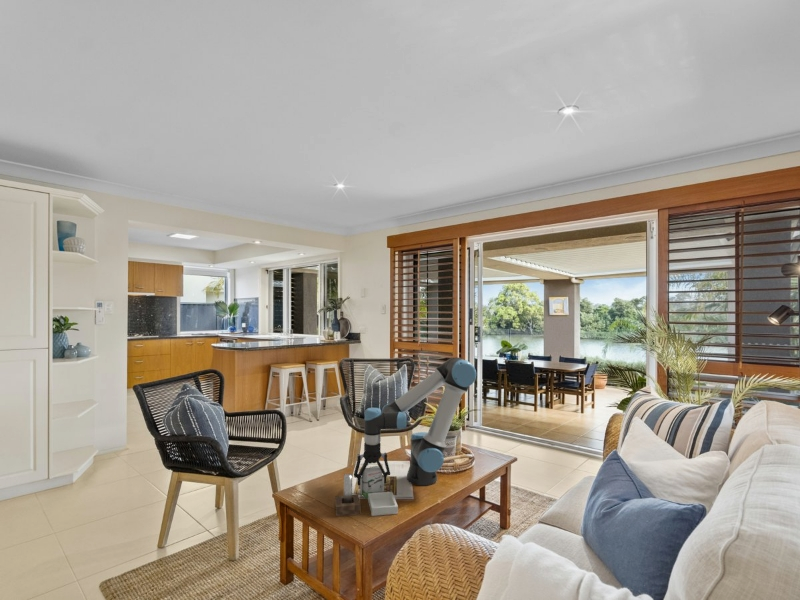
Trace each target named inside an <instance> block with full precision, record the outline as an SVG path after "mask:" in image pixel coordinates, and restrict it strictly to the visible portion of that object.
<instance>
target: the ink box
mask: <svg viewBox="0 0 800 600" xmlns="http://www.w3.org/2000/svg"><path fill="white" fill-rule="evenodd" d="M382 475H383V473H382V471H381V470H380V468H379V466H378V465H375V466H370V467H369V466H368V467H366V468H365V470H364V472H363V474H362V476H361V477H362V493H361V496H362V495H363V498H365V499H368V494H369V493H382Z"/></svg>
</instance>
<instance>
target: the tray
mask: <svg viewBox="0 0 800 600" xmlns="http://www.w3.org/2000/svg"><path fill="white" fill-rule="evenodd" d="M367 504H368V507H369V510H370V513H371V517H373V516H383V515H384V516H387V515H398V514H399V505H398V503H397V500H396V498H395V495H394V493H393V491H384V492H382V493H369V494H368V498H367Z"/></svg>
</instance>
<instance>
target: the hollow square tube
mask: <svg viewBox="0 0 800 600" xmlns="http://www.w3.org/2000/svg"><path fill="white" fill-rule="evenodd" d="M334 501H335V505H334V506H335V516H336V517H345V516H346V517H347V516H358V515H359V516H360V515H361V511H362V510H361V506H362V505H361V500H360V497H359V494H356V493H355V494H352V503H344V494H343V495H335V499H334Z"/></svg>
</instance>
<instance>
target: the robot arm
mask: <svg viewBox="0 0 800 600" xmlns="http://www.w3.org/2000/svg"><path fill="white" fill-rule="evenodd" d="M476 379H477V370H476V368H475V366H474V365H473V364H472V363H471V361H468V360H465V359H463V358H461V357H457V356H456V357H450V358H449V359H447V360H446V361H444V362H443V363H441V364H440V365H438V367H435V369H434V372H433V373H431V374H429V376H427V377H426V378H424V379H423V380H421V381H420V382H419V383H418V384H416V385H415V386H414V387H412V388H410V389H409V390H408V391H406V392H405V393H404V394H402V395H401V396H399V397H398V398H397V399H395V400H394V401H392V402H391V403H387V404H385V405H384V406H383V407H382V408H379V407H368V408H366V409H365V410H364V419H363V420H364V430H363V431H364V437H363V438H364V444H363V445H364V447H363V449H364V450H363V454H359V453H358V454H357V455H356V457H357V460H356V463H355V468H354V471H353V478H357V485H358V486H359V493H360V494H362V474H363V472H364V470H365V468H368V467H367V466H369V464H377V466H378V467H379V468H380V470H381V471H382V492H385V484H387V477H388V476H391V472H390V467H389V463H388V454H387V452H381V446H382V445H381V440H382V439H381V437H382V436H381V435H382V434H381V433H382V432H381V431H382V430H401V429H406V427H407V423H408V422H407V421H408V419H407V418H408V417H407V413H406V412H408V411H409V410H410V409H412V408H413V407H415V406H416V405H418V403H420V402H422V401H423V400H424V399H426V398H427V397H428V396H430V395H431V394H432V393H434V392H435V391H436V390H438V389H439V388H441V387H442V386H445V388H444V390H443V393H442V395H441V399H440V401H439V403H438V406H437V409H436V411H435V414H434V416H433V420H432V421H431V424H430V427H429V428H428V432H425V431H424V432H414V433H412V434H411V435H410V465H409V467H408V471H407V474H406V480H407V481H409V482H408V483H410V482H411V483H410V484H413V485H416V486H430V485H434V484H436V483H437V482H438V474H437V471H439V470H440V469H441V468H442V467H443V465H444V462H445V456H444V452H445V450H446V447H447V445H446V442H445V440H446V438H447V435H448V432H449V430H450V428H451V425H452V423H453V420H454V418H455V415H456V412H457V410H458V407H459V404H460V402H461V399H462V398H463V397H462V396H463V394H465V393H468V391H469V388H470V386H472V385H473V384H474V383H475V381H476ZM381 409H382V410H381ZM381 457H382V459H383V460H384V461H383V462H384V465H385V469H384V466H383V465H382V464H381V461H380V459H381ZM363 458H364V462H363V463H362V466H361V468H360V465H361V461H362V460H363ZM359 469H360V470H359ZM385 470H386V471H385Z"/></svg>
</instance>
